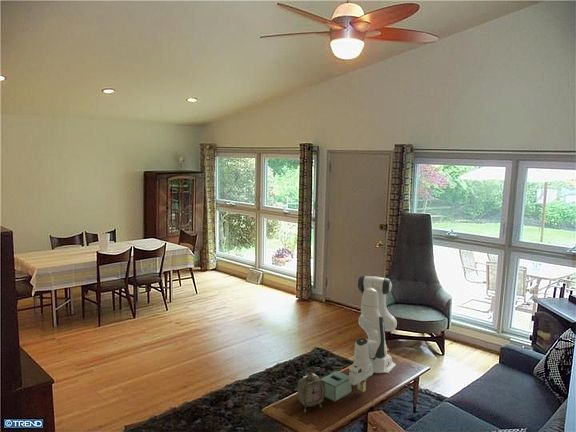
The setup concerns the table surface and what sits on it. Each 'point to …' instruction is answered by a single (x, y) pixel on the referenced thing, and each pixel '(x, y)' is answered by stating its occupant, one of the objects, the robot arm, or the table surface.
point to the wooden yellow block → (362, 386)
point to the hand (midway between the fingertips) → (361, 386)
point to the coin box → (336, 385)
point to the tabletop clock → (311, 390)
